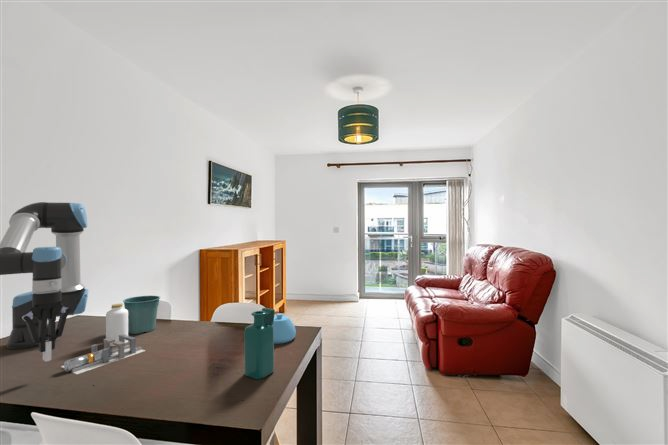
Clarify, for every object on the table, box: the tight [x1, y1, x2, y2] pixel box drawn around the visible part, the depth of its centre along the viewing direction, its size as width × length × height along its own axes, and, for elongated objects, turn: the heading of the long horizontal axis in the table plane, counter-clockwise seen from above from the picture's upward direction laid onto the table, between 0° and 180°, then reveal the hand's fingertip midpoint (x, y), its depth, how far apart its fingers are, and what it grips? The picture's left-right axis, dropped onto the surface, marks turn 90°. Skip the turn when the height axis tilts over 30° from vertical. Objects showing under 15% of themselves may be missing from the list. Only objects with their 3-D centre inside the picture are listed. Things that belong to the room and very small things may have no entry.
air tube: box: [63, 346, 113, 373], centre depth 120 cm, size 14×4×4 cm, turn 150°
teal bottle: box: [243, 307, 276, 380], centre depth 114 cm, size 10×8×22 cm
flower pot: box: [122, 295, 161, 335], centre depth 162 cm, size 16×16×16 cm
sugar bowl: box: [272, 312, 297, 345], centre depth 148 cm, size 15×15×12 cm
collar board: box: [60, 334, 146, 375], centre depth 125 cm, size 13×24×7 cm, turn 150°
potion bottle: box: [105, 303, 129, 347], centre depth 142 cm, size 8×8×18 cm
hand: (47, 360), depth 109 cm, fingers closed
